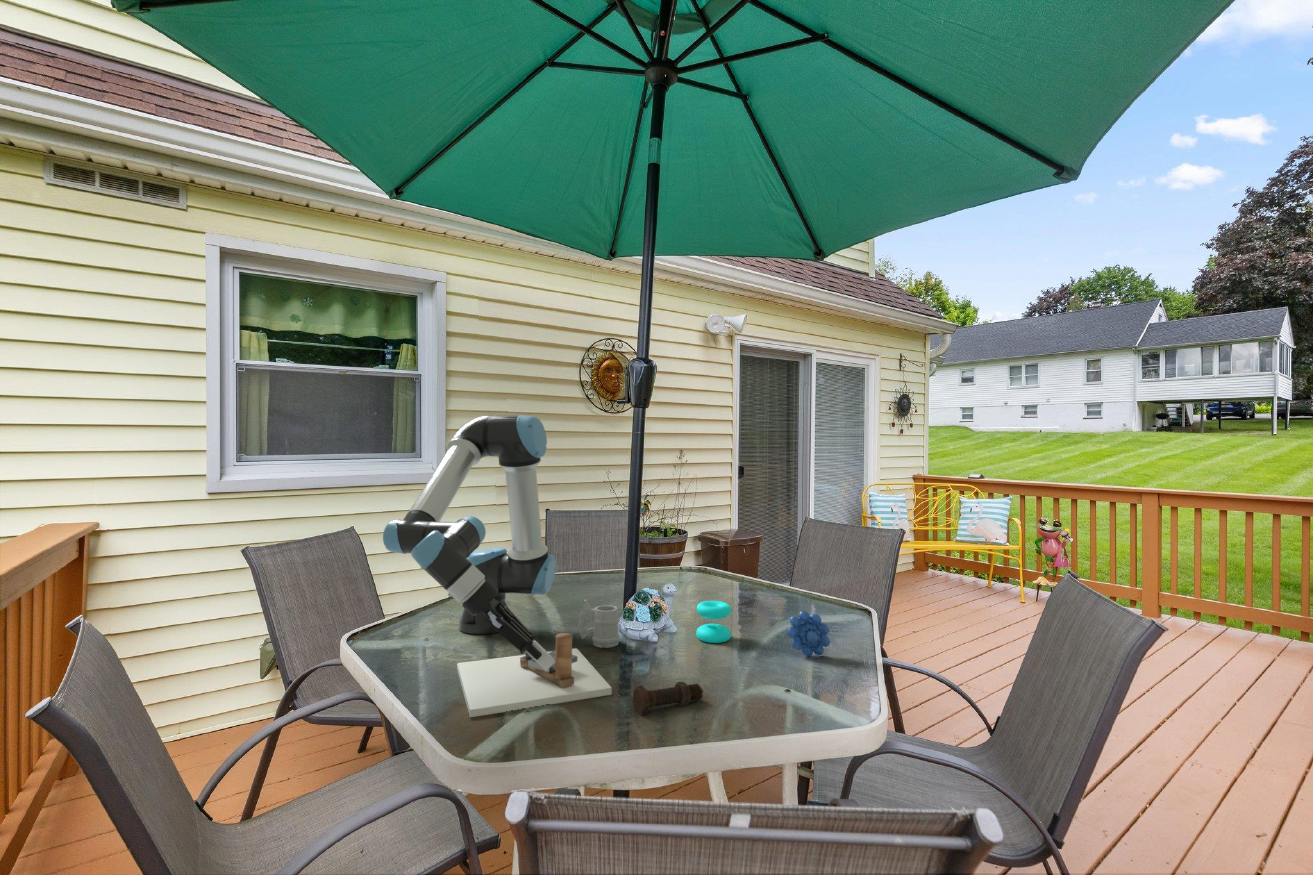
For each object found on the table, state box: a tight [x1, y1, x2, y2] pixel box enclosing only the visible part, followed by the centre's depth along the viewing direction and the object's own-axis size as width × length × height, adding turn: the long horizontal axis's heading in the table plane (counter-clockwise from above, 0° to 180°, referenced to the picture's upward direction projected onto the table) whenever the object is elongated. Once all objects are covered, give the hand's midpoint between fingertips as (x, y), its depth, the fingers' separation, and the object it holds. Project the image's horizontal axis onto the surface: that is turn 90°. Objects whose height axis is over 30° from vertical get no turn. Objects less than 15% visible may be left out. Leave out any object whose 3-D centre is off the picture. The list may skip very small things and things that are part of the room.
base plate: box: [456, 647, 613, 718], centre depth 138 cm, size 28×30×2 cm
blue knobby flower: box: [786, 610, 831, 657], centre depth 156 cm, size 12×7×12 cm, turn 95°
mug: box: [577, 599, 621, 649], centre depth 166 cm, size 8×12×12 cm, turn 86°
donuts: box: [695, 600, 732, 644], centre depth 171 cm, size 10×10×10 cm
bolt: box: [632, 681, 704, 716], centre depth 126 cm, size 6×5×15 cm
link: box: [520, 632, 574, 688], centre depth 139 cm, size 19×4×10 cm, turn 41°
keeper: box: [528, 649, 577, 672], centre depth 139 cm, size 9×7×5 cm
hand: (550, 665), depth 131 cm, fingers closed
